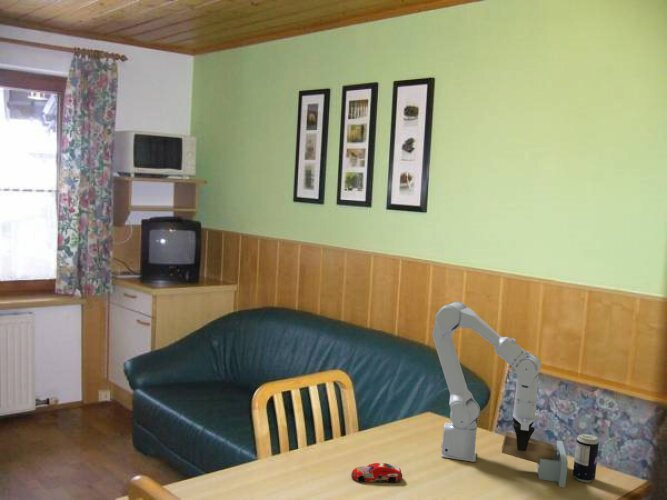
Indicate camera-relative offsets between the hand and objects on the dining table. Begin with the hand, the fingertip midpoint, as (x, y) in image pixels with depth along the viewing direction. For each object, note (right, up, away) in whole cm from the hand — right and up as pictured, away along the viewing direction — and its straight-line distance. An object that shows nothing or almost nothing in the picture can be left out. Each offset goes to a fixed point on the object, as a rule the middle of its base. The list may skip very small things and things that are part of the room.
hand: (521, 447), depth 193 cm
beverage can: (+16, -8, -3) cm, 18 cm away
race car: (-41, -5, -12) cm, 43 cm away
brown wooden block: (+2, -3, 0) cm, 3 cm away
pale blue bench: (+8, -7, -1) cm, 10 cm away
